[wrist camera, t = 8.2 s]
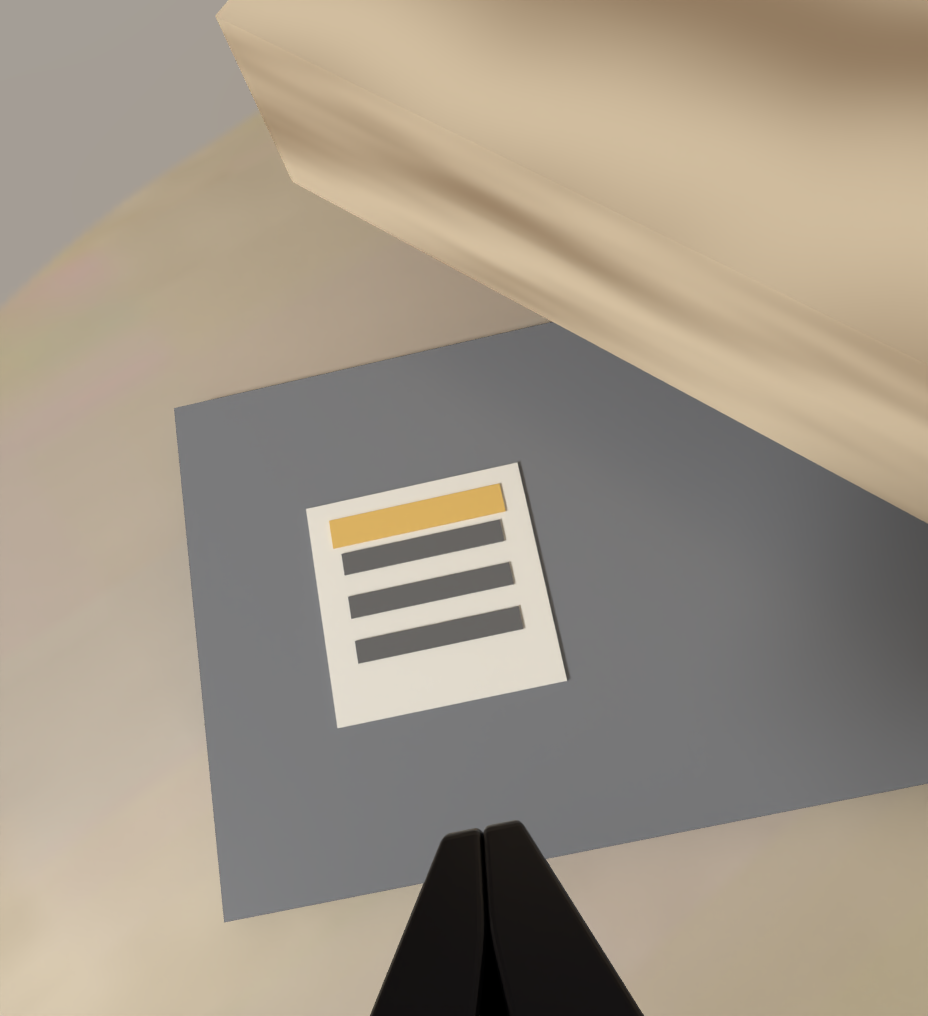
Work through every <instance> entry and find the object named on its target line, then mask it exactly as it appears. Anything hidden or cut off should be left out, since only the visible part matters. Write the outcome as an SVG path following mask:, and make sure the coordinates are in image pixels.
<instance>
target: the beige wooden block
mask: <svg viewBox="0 0 928 1016" xmlns="http://www.w3.org/2000/svg"><path fill="white" fill-rule="evenodd" d="M216 18H217V21H218V23H219V25H220V27H221V29H222V31H223V33H224V36H225V38H226V40H227V42H228V44H229V46H230V49H231V51H232V53H233V55H234V57H235V59H236V61H237V64H238V66H239V68H240V70H241V72H242V74H243V76H244V79H245V81H246V83H247V85H248V87H249V89H250V92H251V93H252V96H253V98H254V100H255V102H256V104H257V107H258V109H259V111H260V113H261V115H262V117H263V119H264V122H265V124H266V126H267V128H268V130H269V132H270V134H271V137H272V139H273V141H274V143H275V145H276V147H277V149H278V152H279V154H280V156H281V158H282V160H283V162H284V164H285V167H286V169H287V171H288V173H289V175H290V177H291V179H292V182H294V183H296V184H297V185H299V186H301V187H303V188H305V189H307V190H309V191H310V192H312V193H314V194H316V195H318V196H320V197H322V198H323V199H325V200H327V201H329V202H331V203H333V204H335V205H336V206H338V207H340V208H342V209H344V210H346V211H348V212H349V213H351V214H353V215H355V216H357V217H359V218H361V219H362V220H364V221H366V222H368V223H370V224H372V225H374V226H375V227H377V228H379V229H381V230H383V231H385V232H387V233H388V234H390V235H392V236H394V237H396V238H398V239H400V240H401V241H403V242H405V243H407V244H409V245H411V246H413V247H415V248H416V249H418V250H420V251H422V252H424V253H426V254H428V255H429V256H431V257H433V258H435V259H437V260H439V261H441V262H442V263H444V264H446V265H448V266H450V267H452V268H454V269H455V270H457V271H459V272H461V273H463V274H465V275H467V276H468V277H470V278H472V279H474V280H476V281H478V282H480V283H481V284H483V285H485V286H487V287H489V288H491V289H493V290H494V291H496V292H498V293H500V294H502V295H504V296H506V297H507V298H509V299H511V300H513V301H515V302H517V303H519V304H520V305H522V306H524V307H526V308H528V309H530V310H532V311H533V312H535V313H537V314H539V315H541V316H543V317H545V318H546V319H548V320H550V321H552V322H554V323H556V324H558V325H560V326H561V327H563V328H565V329H567V330H569V331H571V332H573V333H574V334H576V335H578V336H580V337H582V338H584V339H586V340H587V341H589V342H591V343H593V344H595V345H597V346H599V347H600V348H602V349H604V350H606V351H608V352H610V353H612V354H613V355H615V356H617V357H619V358H621V359H623V360H625V361H626V362H628V363H630V364H632V365H634V366H636V367H638V368H639V369H641V370H643V371H645V372H647V373H649V374H651V375H652V376H654V377H656V378H658V379H660V380H662V381H664V382H665V383H667V384H669V385H671V386H673V387H675V388H677V389H678V390H680V391H682V392H684V393H686V394H688V395H690V396H691V397H693V398H695V399H697V400H699V401H701V402H703V403H705V404H706V405H708V406H710V407H712V408H714V409H716V410H718V411H719V412H721V413H723V414H725V415H727V416H729V417H731V418H732V419H734V420H736V421H738V422H740V423H742V424H744V425H745V426H747V427H749V428H751V429H753V430H755V431H757V432H758V433H760V434H762V435H764V436H766V437H768V438H770V439H771V440H773V441H775V442H777V443H779V444H781V445H783V446H784V447H786V448H788V449H790V450H792V451H794V452H796V453H797V454H799V455H801V456H803V457H805V458H807V459H809V460H810V461H812V462H814V463H816V464H818V465H820V466H822V467H823V468H825V469H827V470H829V471H831V472H833V473H835V474H836V475H838V476H840V477H842V478H844V479H846V480H848V481H849V482H851V483H853V484H855V485H857V486H859V487H861V488H863V489H864V490H866V491H868V492H870V493H872V494H874V495H876V496H877V497H879V498H881V499H883V500H885V501H887V502H889V503H890V504H892V505H894V506H896V507H898V508H900V509H902V510H903V511H905V512H907V513H909V514H911V515H913V516H915V517H916V518H918V519H920V520H922V521H924V522H926V523H928V0H228V1H227V3H226V4H225V5H224V6H223V7H222V9H221V10H220V11H219V12H218V13H217V14H216Z"/></svg>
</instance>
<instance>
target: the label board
mask: <svg viewBox="0 0 928 1016" xmlns="http://www.w3.org/2000/svg"><path fill="white" fill-rule="evenodd" d="M174 412H175V422H176V433H177V443H178V453H179V463H180V474H181V484H182V494H183V504H184V515H185V525H186V535H187V545H188V556H189V566H190V576H191V587H192V597H193V607H194V617H195V628H196V638H197V648H198V658H199V669H200V679H201V689H202V699H203V710H204V720H205V730H206V740H207V751H208V761H209V771H210V781H211V792H212V802H213V812H214V822H215V833H216V843H217V853H218V863H219V874H220V884H221V894H222V905H223V915H224V922H229V921H234V920H239V919H244V918H249V917H254V916H259V915H264V914H269V913H274V912H279V911H284V910H289V909H294V908H299V907H305V906H310V905H315V904H320V903H325V902H330V901H335V900H340V899H345V898H350V897H355V896H360V895H365V894H370V893H375V892H381V891H386V890H391V889H396V888H401V887H406V886H411V885H416V884H421V883H424V881H425V879H426V876H427V874H428V871H429V869H430V866H431V864H432V861H433V859H434V856H435V854H436V852H437V849H438V847H439V844H440V842H441V840H442V838H443V837H444V836H445V835H446V834H448V833H452V832H457V831H462V830H467V829H472V828H478V829H480V830H481V831H482V832H483V831H484V828H485V827H486V826H488V825H492V824H497V823H502V822H507V821H512V820H519V821H520V822H522V823H523V824H524V826H525V827H526V829H527V830H528V832H529V834H530V835H531V837H532V838H533V840H534V842H535V843H536V845H537V846H538V848H539V850H540V851H541V853H542V854H543V856H544V857H545V859H548V858H553V857H558V856H563V855H568V854H573V853H578V852H583V851H588V850H593V849H598V848H603V847H609V846H614V845H619V844H624V843H629V842H634V841H639V840H644V839H649V838H654V837H659V836H664V835H669V834H674V833H679V832H685V831H690V830H695V829H700V828H705V827H710V826H715V825H720V824H725V823H730V822H735V821H740V820H745V819H750V818H755V817H761V816H766V815H771V814H776V813H781V812H786V811H791V810H796V809H801V808H806V807H811V806H816V805H821V804H826V803H831V802H837V801H842V800H847V799H852V798H857V797H862V796H867V795H872V794H877V793H882V792H887V791H892V790H897V789H902V788H907V787H913V786H918V785H923V784H928V523H926V522H924V521H922V520H920V519H918V518H916V517H915V516H913V515H911V514H909V513H907V512H905V511H903V510H902V509H900V508H898V507H896V506H894V505H892V504H890V503H889V502H887V501H885V500H883V499H881V498H879V497H877V496H876V495H874V494H872V493H870V492H868V491H866V490H864V489H863V488H861V487H859V486H857V485H855V484H853V483H851V482H849V481H848V480H846V479H844V478H842V477H840V476H838V475H836V474H835V473H833V472H831V471H829V470H827V469H825V468H823V467H822V466H820V465H818V464H816V463H814V462H812V461H810V460H809V459H807V458H805V457H803V456H801V455H799V454H797V453H796V452H794V451H792V450H790V449H788V448H786V447H784V446H783V445H781V444H779V443H777V442H775V441H773V440H771V439H770V438H768V437H766V436H764V435H762V434H760V433H758V432H757V431H755V430H753V429H751V428H749V427H747V426H745V425H744V424H742V423H740V422H738V421H736V420H734V419H732V418H731V417H729V416H727V415H725V414H723V413H721V412H719V411H718V410H716V409H714V408H712V407H710V406H708V405H706V404H705V403H703V402H701V401H699V400H697V399H695V398H693V397H691V396H690V395H688V394H686V393H684V392H682V391H680V390H678V389H677V388H675V387H673V386H671V385H669V384H667V383H665V382H664V381H662V380H660V379H658V378H656V377H654V376H652V375H651V374H649V373H647V372H645V371H643V370H641V369H639V368H638V367H636V366H634V365H632V364H630V363H628V362H626V361H625V360H623V359H621V358H619V357H617V356H615V355H613V354H612V353H610V352H608V351H606V350H604V349H602V348H600V347H599V346H597V345H595V344H593V343H591V342H589V341H587V340H586V339H584V338H582V337H580V336H578V335H576V334H574V333H573V332H571V331H569V330H567V329H565V328H563V327H561V326H560V325H558V324H556V323H554V322H550V323H545V324H541V325H537V326H532V327H528V328H523V329H519V330H515V331H510V332H506V333H501V334H497V335H493V336H488V337H484V338H480V339H475V340H471V341H466V342H462V343H458V344H453V345H449V346H445V347H440V348H436V349H431V350H427V351H423V352H418V353H414V354H410V355H405V356H401V357H396V358H392V359H388V360H383V361H379V362H375V363H370V364H366V365H361V366H357V367H353V368H348V369H344V370H340V371H335V372H331V373H326V374H322V375H318V376H313V377H309V378H305V379H300V380H296V381H291V382H287V383H283V384H278V385H274V386H270V387H265V388H261V389H256V390H252V391H248V392H243V393H239V394H234V395H230V396H226V397H221V398H217V399H213V400H208V401H204V402H199V403H195V404H191V405H186V406H182V407H178V408H174Z"/></svg>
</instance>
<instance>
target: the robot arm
mask: <svg viewBox="0 0 928 1016" xmlns="http://www.w3.org/2000/svg"><path fill="white" fill-rule="evenodd" d="M370 1016H644V1015H643V1013H642V1012H641V1010H640V1009H639V1007H638V1005H637V1004H636V1002H635V1001H634V999H633V997H632V996H631V994H630V993H629V991H628V990H627V988H626V986H625V985H624V983H623V982H622V980H621V978H620V977H619V975H618V974H617V972H616V970H615V969H614V967H613V966H612V964H611V962H610V961H609V959H608V958H607V956H606V955H605V953H604V951H603V950H602V948H601V947H600V945H599V943H598V942H597V940H596V939H595V937H594V935H593V934H592V932H591V931H590V929H589V927H588V926H587V924H586V923H585V921H584V920H583V918H582V916H581V915H580V913H579V912H578V910H577V908H576V907H575V905H574V904H573V902H572V900H571V899H570V897H569V896H568V894H567V892H566V891H565V889H564V888H563V886H562V885H561V883H560V881H559V880H558V878H557V877H556V875H555V873H554V872H553V870H552V869H551V867H550V865H549V864H548V862H547V861H546V859H545V857H544V856H543V854H542V853H541V851H540V850H539V848H538V846H537V845H536V843H535V842H534V840H533V838H532V837H531V835H530V834H529V832H528V830H527V829H526V827H525V826H524V824H523V823H522V822H520V821H519V820H512V821H507V822H502V823H497V824H492V825H488V826H486V827H485V828H484V831H483V832H482V831H481V830H480V829H478V828H472V829H467V830H462V831H457V832H452V833H448V834H446V835H445V836H444V837H443V838H442V840H441V842H440V844H439V847H438V849H437V852H436V854H435V856H434V859H433V861H432V864H431V866H430V869H429V871H428V874H427V876H426V879H425V881H424V884H423V886H422V889H421V891H420V893H419V896H418V898H417V901H416V903H415V906H414V908H413V911H412V913H411V916H410V918H409V921H408V923H407V925H406V928H405V930H404V933H403V935H402V938H401V940H400V943H399V945H398V948H397V950H396V953H395V955H394V958H393V960H392V962H391V965H390V967H389V970H388V972H387V975H386V977H385V980H384V982H383V985H382V987H381V990H380V992H379V994H378V997H377V999H376V1002H375V1004H374V1007H373V1009H372V1012H371V1014H370Z"/></svg>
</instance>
